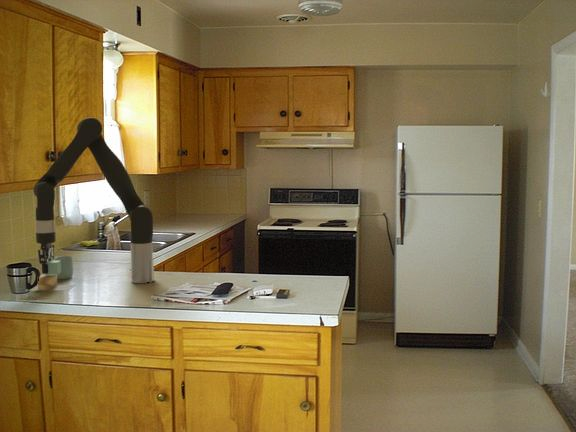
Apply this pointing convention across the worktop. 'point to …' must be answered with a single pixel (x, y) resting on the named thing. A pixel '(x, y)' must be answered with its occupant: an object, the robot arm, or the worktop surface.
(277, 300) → the worktop surface
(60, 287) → the pale flat slab
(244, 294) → the worktop surface
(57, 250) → the worktop surface
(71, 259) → the cup
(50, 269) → the teal block
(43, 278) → the oak block
